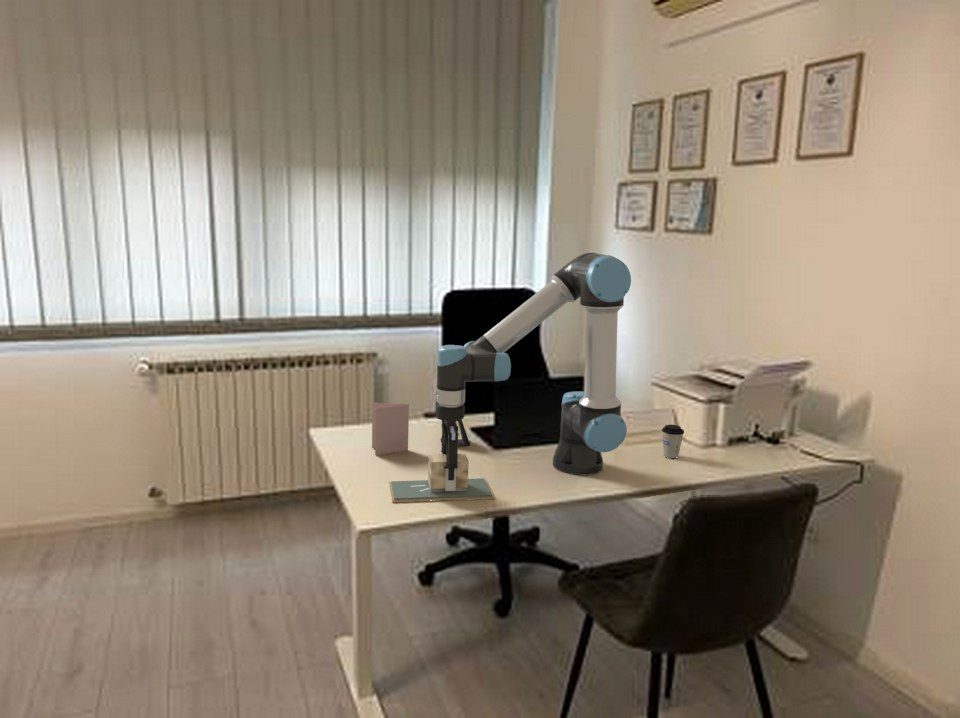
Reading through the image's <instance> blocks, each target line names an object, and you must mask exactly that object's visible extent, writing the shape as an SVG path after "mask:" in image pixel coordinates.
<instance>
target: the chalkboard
mask: <svg viewBox="0 0 960 718" xmlns="http://www.w3.org/2000/svg"><path fill="white" fill-rule="evenodd" d="M388 484H389V485H390V486H389V485H388V486H389V491H390V498H391V497H392V498H391V502H392V504H395V503H396V502H400V503H415V502H414V501H427V502H434V501H433V500H454V501H468V500H467V499H480V500H494V499H495V496H494V493H493V492H492V490H491V487H490V486H489V484H488V482H487V480H486V478H483V477H482V478H481V477H480V478H468V491H458V492H430V489H429V485H428V479H423V480H421V479H420V480H419V479H417V480H394V481H393V480H391V481H389V482H388ZM430 500H432V501H430Z"/></svg>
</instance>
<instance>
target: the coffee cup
mask: <svg viewBox="0 0 960 718" xmlns="http://www.w3.org/2000/svg"><path fill="white" fill-rule="evenodd" d="M661 431H662V454H663V455H662V456H663V457H664V456H665V457H668V458H676V457H678V458H679V455H680V452H681V451H680V449H681V447H682V446H681V445H682V440H683V436H684V434H685V430H684V429H683V428H682V427H681V425H677V424H665V425H664V427H662V429H661ZM665 457H664V458H665ZM668 458H667V459H668Z"/></svg>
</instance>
